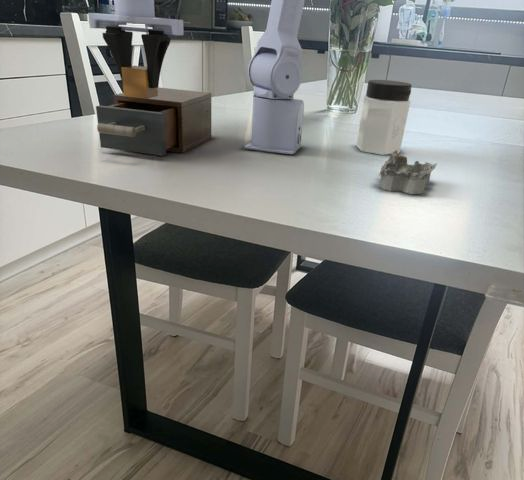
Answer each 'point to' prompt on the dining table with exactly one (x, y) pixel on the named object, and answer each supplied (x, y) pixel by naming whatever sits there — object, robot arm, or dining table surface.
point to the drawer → (138, 127)
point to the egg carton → (404, 175)
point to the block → (137, 82)
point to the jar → (383, 116)
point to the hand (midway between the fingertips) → (140, 86)
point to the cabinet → (182, 114)
